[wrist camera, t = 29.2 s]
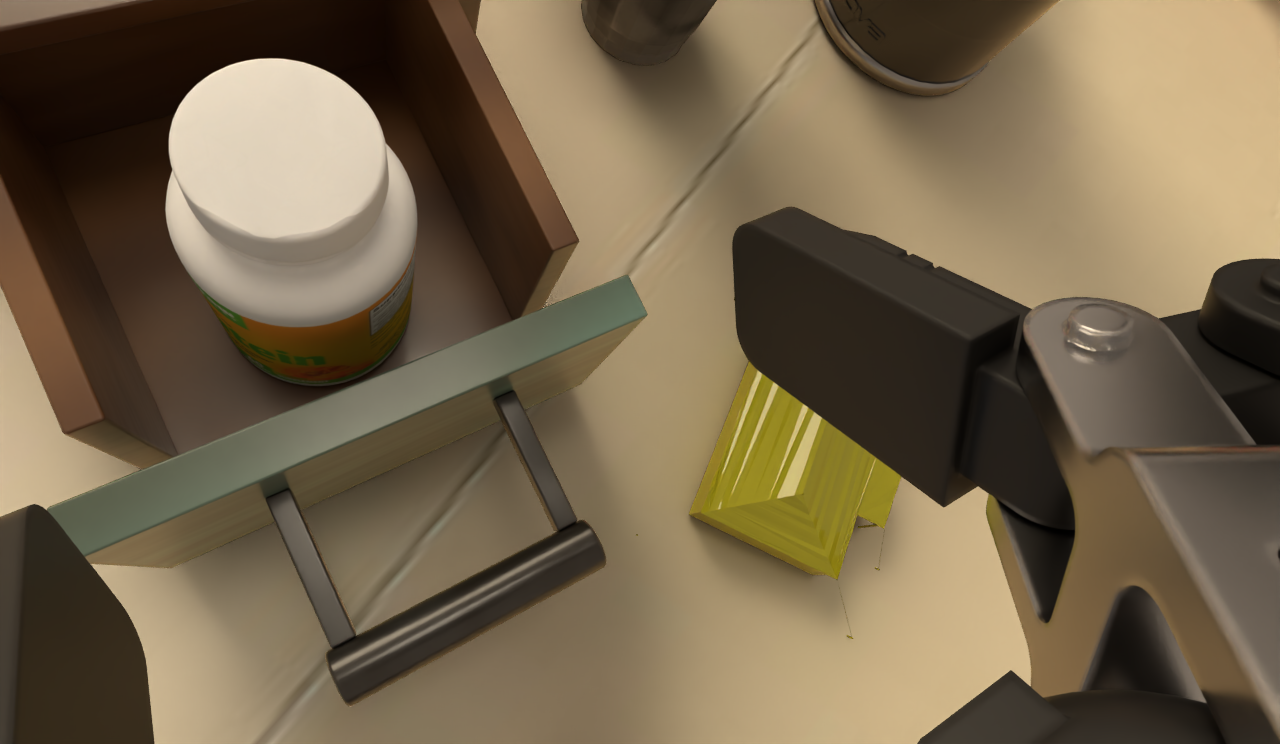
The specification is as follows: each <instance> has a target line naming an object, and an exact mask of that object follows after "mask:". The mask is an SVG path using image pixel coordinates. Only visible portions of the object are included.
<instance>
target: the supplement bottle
mask: <svg viewBox="0 0 1280 744" xmlns="http://www.w3.org/2000/svg"><path fill="white" fill-rule="evenodd" d="M169 157H170V163H171V167H172V173H171V176H170V179H169V183H168V189H167V196H166V209H165V210H166V221H167V226H168V230H169V234H170V238H171V240H172V243H173V245H174V248H175V250H176V252H177V254H178V256H179V258H180V260H181V262H182V264H183V265H184V267H185V269H186V270H187V272H188V274H189V275H190V277H191V278H192V280H193V281H194V283H195V284H196V286H197V287H198V289H199V290H200V292H201V293H202V294H203V296H204V297H205V299H206V301H207V302H208V304H209V305H210V307H211V309H212V310H213V312H214V313H215V315H216V316H217V318H218V320H219V321H220V323H221V325H222V326H223V328H224V329H225V331H226V333H227V334H228V336H229V338H230V339H231V341H232V342H233V343H234V345H235V346H236V347H237V348H238V350H239V351H240V352H241V353H242V354H243V355H244V356H245V357H246V358H247V359H248V360H249V361H250V362H251V363H252V364H254V365H255V366H256V367H258V368H259V369H261V370H262V371H264V372H265V373H267V374H269V375H271V376H273V377H275V378H278V379H280V380H283V381H286V382H289V383H294V384H299V385H306V386H328V385H335V384H340V383H344V382H347V381H350V380H353V379H356V378H358V377H360V376H362V375H364V374H366V373H368V372H370V371H371V370H373V369H374V368H375V367H377V366H378V365H379V364H381V363H382V362H383V361H384V360H385V359H386V358H387V357H388V356H389V355H390V354H391V352H392V351H393V350H394V349H395V347H396V346H397V344H398V343H399V342H400V340H401V338H402V336H403V334H404V332H405V329H406V326H407V323H408V319H409V315H410V310H411V302H412V291H413V279H414V264H415V249H416V239H417V206H416V200H415V195H414V191H413V188H412V185H411V182H410V180H409V177H408V175H407V173H406V171H405V169H404V167H403V165H402V163H401V162H400V160H399V159H398V157H397V156H396V155H395V153H394V152H393V151H392V150H391V148H390V147H389V146H388V145H387V144H386V143H385V138H384V135H383V131H382V129H381V126H380V124H379V121H378V119H377V118H376V116H375V114H374V112H373V111H372V109H371V108H370V106H369V105H368V104H367V103H366V101H365V100H364V99H363V98H362V97H361V96H360V95H359V94H358V93H357V92H356V91H355V90H354V89H353V88H352V87H350V86H349V85H348V84H347V83H346V82H344V81H343V80H341V79H340V78H338V77H337V76H335V75H333V74H331V73H329V72H327V71H325V70H323V69H321V68H318V67H316V66H313V65H310V64H307V63H304V62H299V61H293V60H287V59H272V58H270V59H254V60H247V61H243V62H239V63H236V64H232V65H229V66H227V67H224V68H222V69H220V70H218V71H216V72H214V73H212V74H210V75H209V76H207V77H206V78H204V79H203V80H202V81H201V82H199V83H198V84H197V85H196V86H195V87H194V88H193V89H192V90H191V91H190V92H189V93H188V94H187V95H186V96H185V98H184V99H183V101H182V102H181V104H180V105H179V107H178V109H177V111H176V113H175V115H174V118H173V120H172V125H171V129H170V133H169Z"/></svg>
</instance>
